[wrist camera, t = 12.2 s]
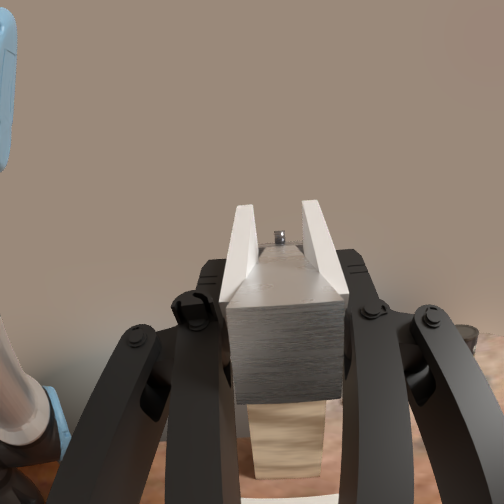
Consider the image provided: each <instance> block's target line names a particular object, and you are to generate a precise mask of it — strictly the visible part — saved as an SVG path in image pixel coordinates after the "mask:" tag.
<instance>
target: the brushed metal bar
mask: <svg viewBox="0 0 504 504" xmlns="http://www.w3.org/2000/svg"><path fill="white" fill-rule="evenodd" d="M274 235H275V243H265V244H258V261H257V262H256V264H255V265H254V267H253V268H252V270H251V271H250V273H249V274H248V276H247V278H246V279H245V280H244V281H243V283H242V284H241V286H240V287H239V289H238V290H237V292H236V293H235V295H234V296H233V298H232V299H231V301H230V302H229V304H228V305H227V307H226V316H227V325H228V335H229V343H230V352H231V361H232V369H233V377H234V385H235V393H236V401H237V404H284V403H300V402H312V401H323V400H332V399H340V398H341V390H342V389H341V388H342V373H343V351H344V300H343V298H342V297H341V296H340V295H339V294H338V293H337V292H336V290H335V289H334V288H333V287H332V286H331V285H330V284H329V282H328V281H327V280H326V279H325V278H324V277H323V276H322V275H321V273H319V272H318V271H317V270H316V269H315V267H314V266H313V265H312V264H311V263H310V262H309V261H308V259H307V258H306V257H305V255H304V249H303V241H293V242H285V231H274Z"/></svg>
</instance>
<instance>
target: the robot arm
mask: <svg viewBox="0 0 504 504" xmlns="http://www.w3.org/2000/svg"><path fill="white" fill-rule="evenodd" d="M16 60H17V27H16V22H15V19H14V17H13V15H12V14H11V12H10V11H8V10H7V9H5V8H2V7H0V172H2V171H3V170H4V168H5V167H6V165H7V162H8V157H9V153H10V146H11V126H12V122H13V108H14V92H15V78H16ZM302 218H303V249H304V255H305V257H306V258H307V259H308V261H309V262H310V263H311V264H312V265H313V266H314V267H315V269H316V270H317V271H318V272H319V273H321V275H322V276H323V277H324V278H325V279H326V280H327V281H328V282H329V284H330V285H331V286H332V287H333V288H334V289H335V290H336V292H337V293H338V294H339V295H340V296H341V297H342V298H343V300H344V351H343V373H342V376H343V432H342V459H341V475H340V488H339V499H338V504H414V466H413V446H412V432H411V422H410V412H409V404H410V407H411V409H412V412H413V414H414V417H415V420H416V422H417V425H418V428H419V431H420V433H421V436H422V439H423V442H424V445H425V448H426V451H427V454H428V457H429V460H430V463H431V466H432V469H433V473H434V476H435V479H436V483H437V486H438V490H439V493H440V497H441V501H442V504H504V415H503V413H502V410H501V408H500V406H499V404H498V402H497V400H496V398H495V396H494V394H493V392H492V390H491V388H490V386H489V384H488V382H487V380H486V378H485V376H484V374H483V372H482V370H481V369H480V367H479V365H478V363H477V361H476V360H475V358H474V356H473V354H472V353H471V351H470V349H469V348H468V346H467V344H466V343H465V341H464V339H463V338H462V336H461V335H460V333H459V331H458V330H457V328H456V327H455V325H454V324H453V322H452V321H451V319H450V317H449V316H448V314H447V313H446V312H445V311H444V310H443V309H441V308H439V307H438V306H434V305H423V306H421V307H419V308H418V309H417V310H416V312H415V314H408V313H400V312H396V311H393V310H391V309H390V307H389V305H388V304H386V303H385V302H384V301H383V300H381V299H379V297H378V294H377V292H376V289H375V287H374V284H373V282H372V280H371V277H370V275H369V273H368V270H367V268H366V266H365V263H364V261H363V258H362V256H361V255H360V254H359V253H357V252H356V251H355V250H354V249H345V250H335V247H334V245H333V242H332V239H331V236H330V233H329V230H328V228H327V225H326V222H325V219H324V216H323V214H322V211H321V208H320V206H319V203H318V201H317V200H308V201H307V200H306V201H302ZM257 261H258V243H257V235H256V227H255V220H254V211H253V205H241V206H237V209H236V215H235V220H234V225H233V229H232V235H231V240H230V245H229V250H228V255H227V259H216V260H208V261H207V263H206V264H205V265H204V266H203V267H202V270H201V273H200V276H199V280H198V283H197V287H196V290H191V291H188V292H184V293H183V294H181V295H179V296H178V297H177V298H176V299H175V300H174V301H173V303H172V305H171V309H172V311H173V314H174V316H175V318H176V320H177V323H178V325H177V326H175V327H172V328H169V329H165V330H161V331H157V332H155V330H154V329H153V328H152V327H151V326H149V325H146V324H139V325H136V326H133V327H131V328H129V329H128V330H127V331H126V332H125V333H124V334H123V335H122V337H121V339H120V340H119V342H118V344H117V346H116V348H115V350H114V352H113V353H112V355H111V357H110V359H109V361H108V363H107V365H106V367H105V369H104V371H103V372H102V374H101V376H100V379H99V380H98V382H97V384H96V386H95V388H94V391H93V392H92V394H91V396H90V398H89V400H88V403H87V405H86V407H85V409H84V411H83V413H82V415H81V417H80V420H79V422H78V424H77V426H76V429H75V431H74V433H73V435H72V437H71V435H70V432H69V430H68V426H67V423H66V420H65V417H64V414H63V411H62V408H61V405H60V402H59V399H58V396H57V393H56V391H55V389H54V388H53V387H50V386H48V387H46V386H41V385H40V384H39V383H38V382H37V381H36V380H35V379H34V378H32V377H31V376H29V375H28V374H25V373H24V372H23V369H22V367H21V365H20V363H19V361H18V358H17V356H16V354H15V352H14V350H13V347H12V345H11V342H10V340H9V337H8V335H7V332H6V329H5V327H4V324H3V321H2V319H1V315H0V504H44V501H43V497H42V495H41V493H40V491H39V490H38V488H37V487H36V486H35V484H34V483H33V482H32V481H31V480H30V479H29V478H28V477H27V476H25V475H24V474H23V473H22V472H20V471H19V470H18V469H17V468H16V467H23V466H30V465H36V464H42V463H48V462H53V461H61V464H60V466H59V469H58V471H57V474H56V477H55V479H54V482H53V485H52V487H51V490H50V493H49V496H48V499H47V502H46V504H139V503H140V499H141V496H142V493H143V490H144V487H145V484H146V481H147V478H148V475H149V471H150V468H151V465H152V462H153V459H154V456H155V453H156V450H157V447H158V444H159V441H160V438H161V435H162V432H163V429H164V427H165V424H166V420H167V418H168V431H167V447H166V469H165V504H241V496H240V483H239V470H238V456H237V441H236V426H235V408H234V390H233V369H232V363H231V359H230V354H231V352H230V343H229V335H228V325H227V316H226V307H227V305H228V304H229V302H230V301H231V299H232V298H233V296H234V295H235V293H236V292H237V290H238V289H239V287H240V286H241V284H242V283H243V281H244V280H245V279H246V278H247V276H248V274H249V273H250V271H251V270H252V268H253V267H254V265H255V264H256V262H257ZM408 402H409V404H408ZM168 415H169V417H168Z"/></svg>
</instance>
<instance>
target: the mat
mask: <svg viewBox="0 0 504 504" xmlns="http://www.w3.org/2000/svg"><path fill="white" fill-rule="evenodd" d="M338 499H339V494H332V495H324V496H314V497H302V498H280V499H256V498H241V504H338Z"/></svg>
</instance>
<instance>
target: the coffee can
mask: <svg viewBox="0 0 504 504" xmlns="http://www.w3.org/2000/svg"><path fill="white" fill-rule="evenodd" d="M455 327H456V328H457V330H458V331H459V333H460V335H461V336H462V338H463V339H464V341H465V343H466V344H467V346H468V348H469V349H470V351H471V353H472V354H473V356H474V355H475V350H476V344H477V338H478V335H479V331H478V329H477V328H475V327H473V326H469V325H455Z"/></svg>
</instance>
